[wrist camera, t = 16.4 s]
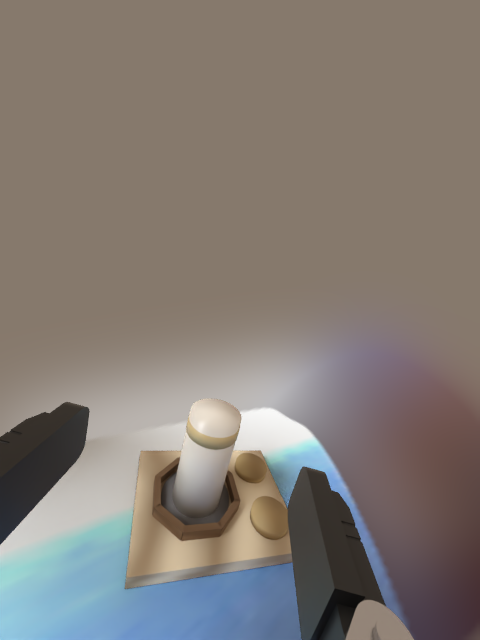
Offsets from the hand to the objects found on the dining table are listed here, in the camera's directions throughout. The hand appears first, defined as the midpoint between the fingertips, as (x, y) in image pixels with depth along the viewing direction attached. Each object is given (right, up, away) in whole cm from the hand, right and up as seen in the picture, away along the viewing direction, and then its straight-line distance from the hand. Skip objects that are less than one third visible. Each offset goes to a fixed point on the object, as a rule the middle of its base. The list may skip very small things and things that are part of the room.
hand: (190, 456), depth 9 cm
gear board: (-1, -15, +19) cm, 24 cm away
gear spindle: (-3, -14, +18) cm, 23 cm away
